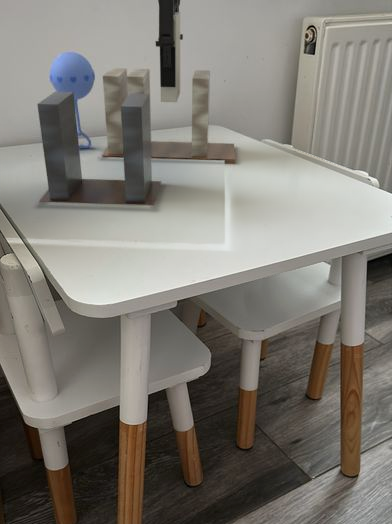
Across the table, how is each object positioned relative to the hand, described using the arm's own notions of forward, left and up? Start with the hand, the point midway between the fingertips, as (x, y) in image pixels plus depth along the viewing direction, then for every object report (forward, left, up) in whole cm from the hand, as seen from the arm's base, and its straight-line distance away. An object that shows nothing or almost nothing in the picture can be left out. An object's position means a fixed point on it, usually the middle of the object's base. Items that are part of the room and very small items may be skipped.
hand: (170, 82), depth 107 cm
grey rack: (-9, -27, -14) cm, 31 cm away
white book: (0, 0, -3) cm, 3 cm away
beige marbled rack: (0, 0, -14) cm, 14 cm away
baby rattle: (-19, +2, -14) cm, 24 cm away
